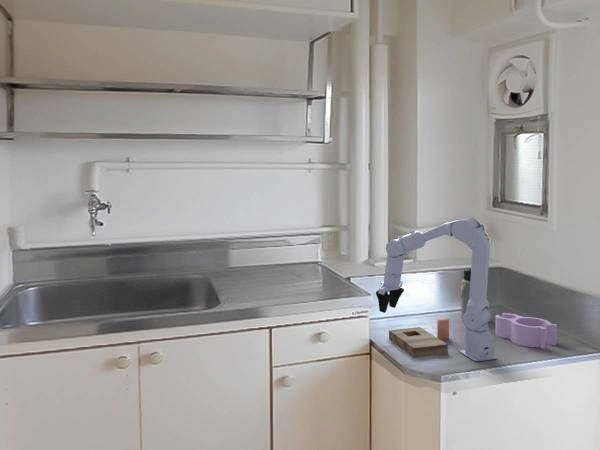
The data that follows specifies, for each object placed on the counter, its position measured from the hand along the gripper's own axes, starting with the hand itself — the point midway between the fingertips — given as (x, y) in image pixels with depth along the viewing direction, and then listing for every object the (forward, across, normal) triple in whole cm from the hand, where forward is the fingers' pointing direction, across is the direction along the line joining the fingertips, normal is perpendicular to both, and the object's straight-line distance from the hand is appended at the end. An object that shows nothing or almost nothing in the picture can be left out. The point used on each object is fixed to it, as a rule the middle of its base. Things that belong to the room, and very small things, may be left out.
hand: (387, 309), depth 193 cm
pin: (+8, -10, +18) cm, 22 cm away
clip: (+4, -24, +42) cm, 48 cm away
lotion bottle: (+8, -40, +17) cm, 44 cm away
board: (+8, +2, +14) cm, 16 cm away
